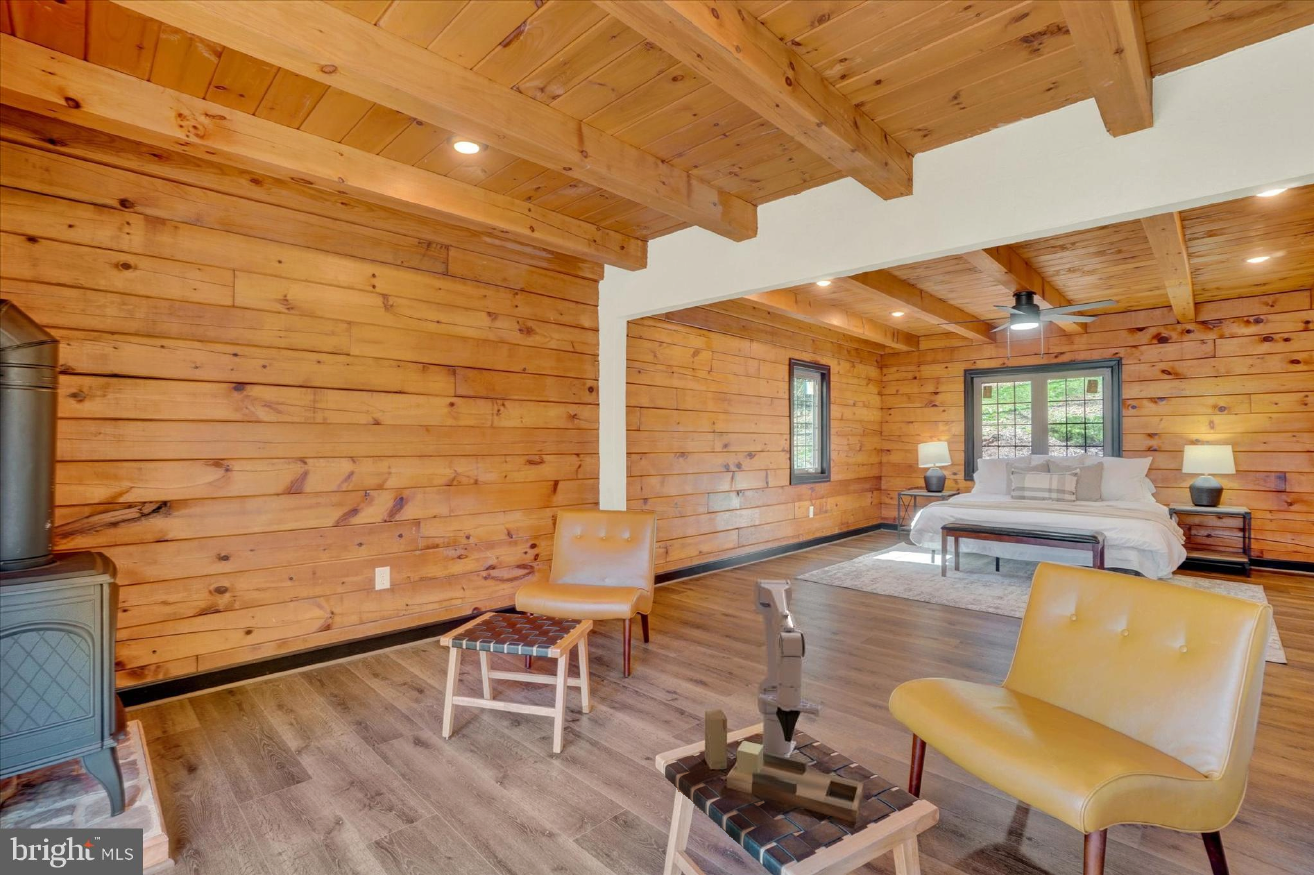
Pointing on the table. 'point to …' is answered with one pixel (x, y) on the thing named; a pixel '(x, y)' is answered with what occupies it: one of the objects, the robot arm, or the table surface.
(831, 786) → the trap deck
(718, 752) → the skincare box
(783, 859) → the table surface
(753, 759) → the sage block
